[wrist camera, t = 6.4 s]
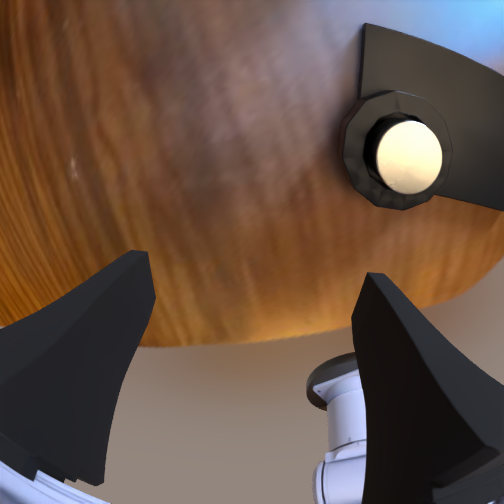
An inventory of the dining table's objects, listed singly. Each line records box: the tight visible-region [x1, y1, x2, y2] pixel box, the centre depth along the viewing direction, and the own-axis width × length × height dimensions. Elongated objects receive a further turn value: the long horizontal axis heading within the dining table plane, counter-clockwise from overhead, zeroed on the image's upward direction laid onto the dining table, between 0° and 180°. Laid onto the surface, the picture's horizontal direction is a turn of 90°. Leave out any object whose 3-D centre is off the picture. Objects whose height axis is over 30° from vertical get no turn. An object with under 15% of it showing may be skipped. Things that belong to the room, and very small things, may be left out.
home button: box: [368, 117, 442, 194], centre depth 14 cm, size 4×4×2 cm
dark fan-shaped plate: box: [337, 23, 504, 212], centre depth 14 cm, size 15×11×2 cm
